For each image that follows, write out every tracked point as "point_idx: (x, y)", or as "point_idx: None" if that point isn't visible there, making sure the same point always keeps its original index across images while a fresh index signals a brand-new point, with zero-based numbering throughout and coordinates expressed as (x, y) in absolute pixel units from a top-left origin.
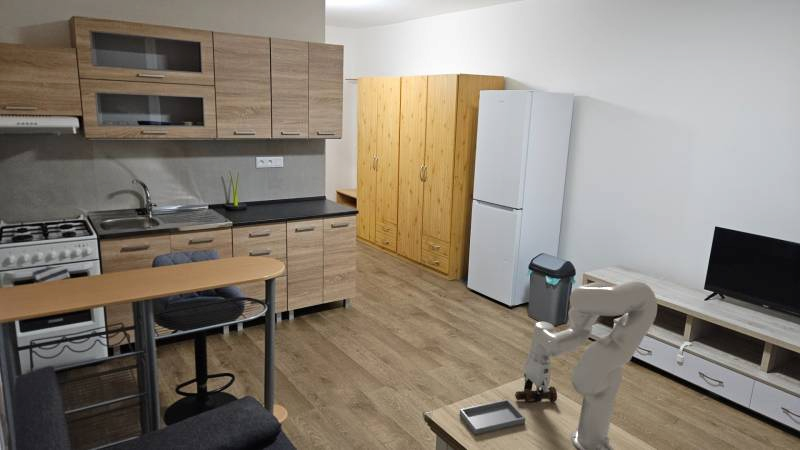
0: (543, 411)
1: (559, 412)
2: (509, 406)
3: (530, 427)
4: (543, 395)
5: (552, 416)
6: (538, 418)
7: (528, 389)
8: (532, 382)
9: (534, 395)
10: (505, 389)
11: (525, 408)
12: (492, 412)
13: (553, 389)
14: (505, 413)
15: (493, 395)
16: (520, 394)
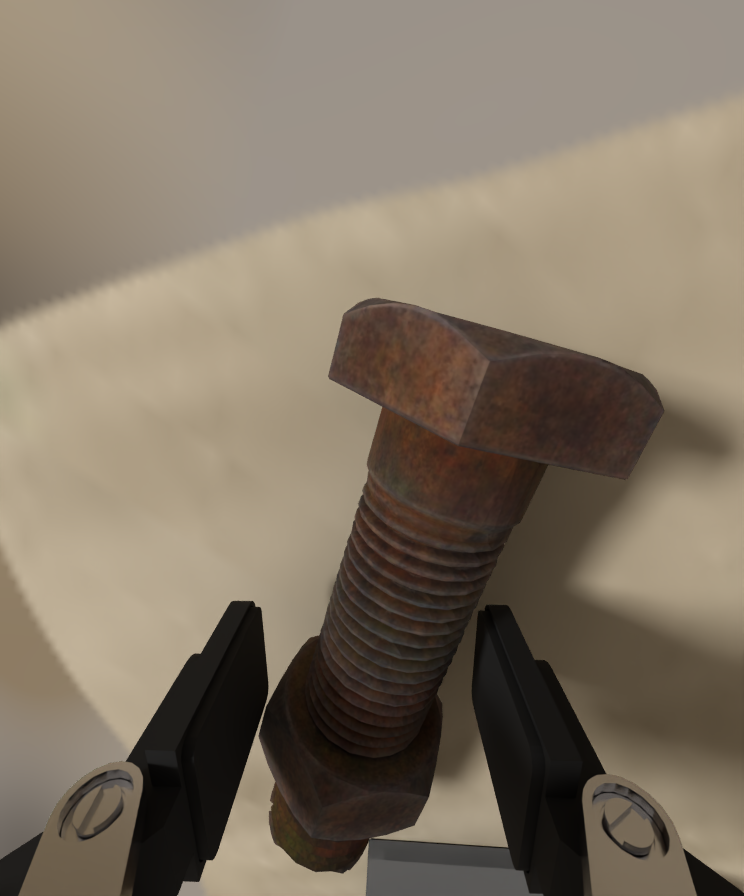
0: (607, 607)
1: (729, 435)
2: (431, 891)
3: (739, 846)
4: (482, 586)
5: (738, 570)
6: (676, 720)
7: (333, 817)
8: (191, 757)
9: (428, 705)
10: (132, 731)
11: (477, 736)
12: None
13: (559, 421)
14: None
15: None
16: (353, 850)
